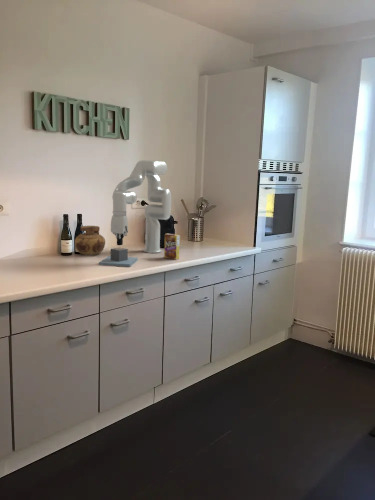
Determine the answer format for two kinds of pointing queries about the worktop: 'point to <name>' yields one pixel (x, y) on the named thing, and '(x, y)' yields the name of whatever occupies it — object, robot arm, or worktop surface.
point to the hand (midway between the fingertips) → (119, 244)
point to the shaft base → (125, 263)
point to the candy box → (172, 246)
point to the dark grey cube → (119, 254)
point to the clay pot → (90, 241)
